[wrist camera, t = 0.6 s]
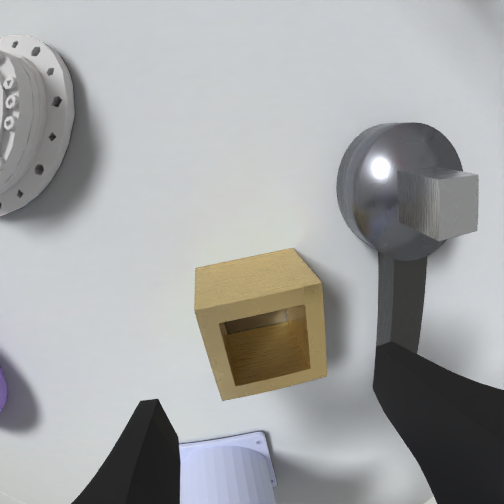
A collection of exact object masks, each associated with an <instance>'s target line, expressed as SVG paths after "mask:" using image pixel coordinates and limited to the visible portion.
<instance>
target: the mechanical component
mask: <svg viewBox="0 0 504 504" xmlns="http://www.w3.org/2000/svg"><path fill="white" fill-rule="evenodd" d="M74 116H75V110H74V95H73V84H72V80H71V77H70V73H69V70H68V68H67V67H66V65H65V63H64V62H63V60H62V58H61V57H60V55H59V54H58V53H57V52H55V51H54V50H53V49H51V48H50V47H49V46H47V45H46V44H44V43H43V42H41V41H39V40H38V39H36V38H34V37H32V36H26V35H11V36H5V37H2V38H0V216H3V215H5V214H7V213H10V212H12V211H14V210H17V209H19V208H22V207H24V206H25V205H26V204H28V203H29V202H30V201H32V200H33V199H34V198H35V197H37V196H38V195H39V194H40V193H41V192H42V191H43V190H44V189H45V187H46V186H47V185H48V184H49V183H50V182H51V180H52V178H53V177H54V175H55V173H56V172H57V170H58V168H59V167H60V165H61V163H62V160H63V157H64V155H65V152H66V150H67V147H68V145H69V140H70V135H71V130H72V126H73V121H74Z"/></svg>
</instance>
